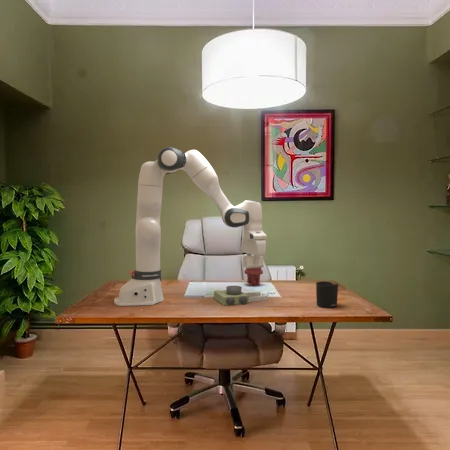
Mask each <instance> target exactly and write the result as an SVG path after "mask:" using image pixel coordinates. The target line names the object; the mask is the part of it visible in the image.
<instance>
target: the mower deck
mask: <svg viewBox="0 0 450 450" xmlns="http://www.w3.org/2000/svg"><path fill="white" fill-rule="evenodd" d="M242 289H243V288H242V286H240V285H227V286H226V289H224V290H215V291H213V298H215V299H214V300H215V301H216V302H218V301H219V302H218V303H220V304H221V305H223V306H230V305H232V306H234V304H235V305H246V304H250V302H249V301H253V302H262V301H268V298H269V297H268V295H261V292H260V291H256V292H254V291H253V292H243V291H242Z"/></svg>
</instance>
